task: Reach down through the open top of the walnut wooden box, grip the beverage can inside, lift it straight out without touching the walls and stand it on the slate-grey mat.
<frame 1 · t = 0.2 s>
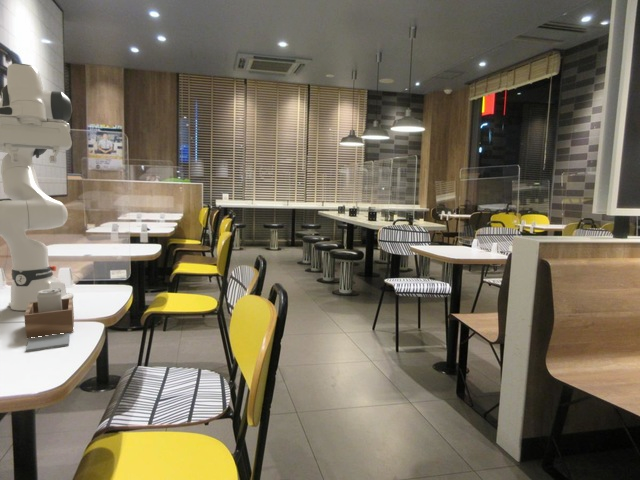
hand: (34, 161, 127), 51 cm above the table, tool tilted 20°, fingers open, 8 cm apart
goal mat: (48, 342, 125), on the table
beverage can: (51, 328, 138), resting in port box
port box: (51, 327, 138), on the table
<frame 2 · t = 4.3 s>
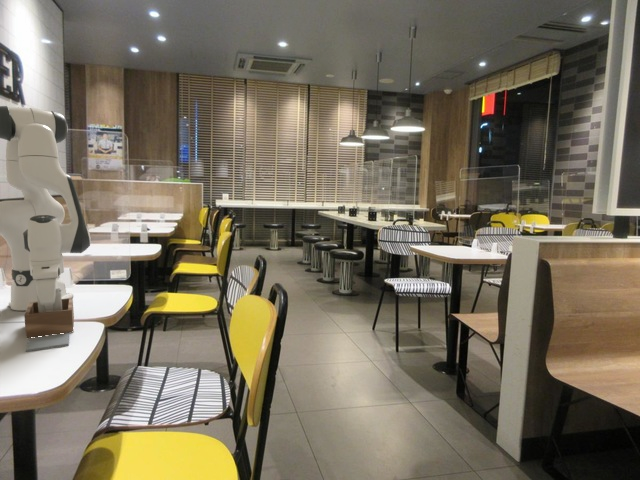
hand: (50, 311, 137), 5 cm above the table, tool pointing down, fingers closed on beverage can, 6 cm apart
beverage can: (51, 328, 138), resting in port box, touching gripper
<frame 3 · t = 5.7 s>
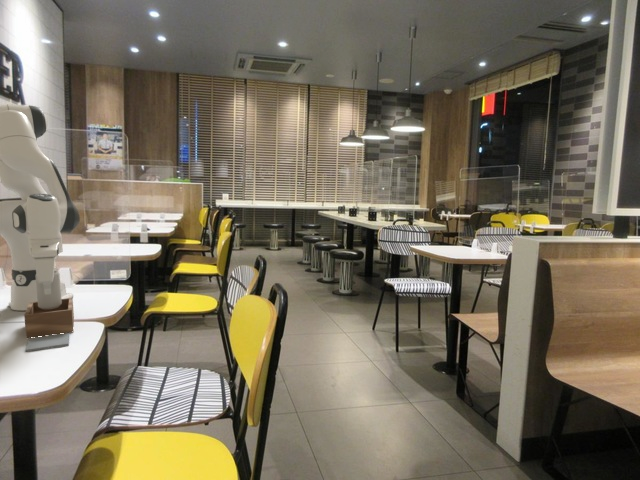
hand: (48, 290, 137), 12 cm above the table, tool pointing down, fingers closed on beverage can, 6 cm apart
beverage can: (50, 307, 138), point 6 cm above the table, touching gripper
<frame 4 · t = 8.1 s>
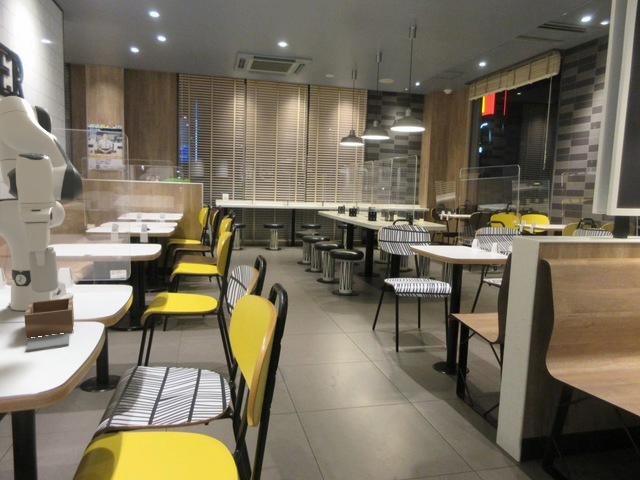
hand: (42, 263, 122), 23 cm above the table, tool pointing down, fingers closed on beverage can, 6 cm apart
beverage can: (45, 291, 123), point 15 cm above the table, touching gripper
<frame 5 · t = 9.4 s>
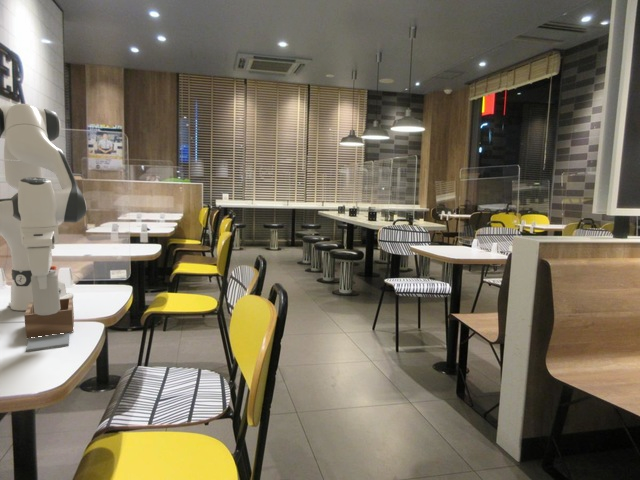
hand: (44, 286, 123), 17 cm above the table, tool pointing down, fingers closed on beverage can, 6 cm apart
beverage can: (47, 313, 124), point 9 cm above the table, touching gripper
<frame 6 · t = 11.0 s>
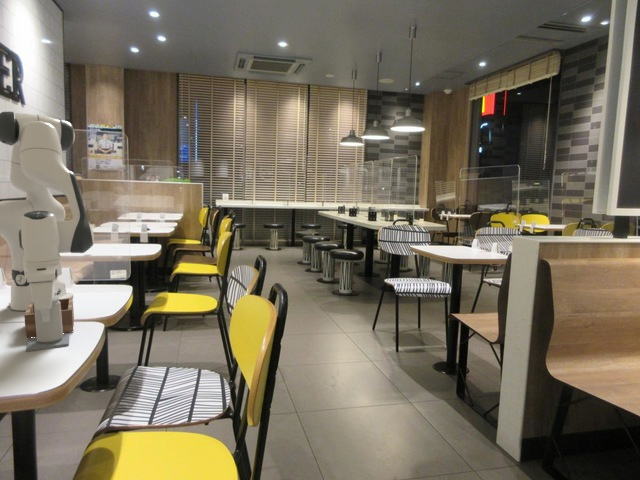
hand: (47, 317, 124), 7 cm above the table, tool pointing down, fingers closed on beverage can, 6 cm apart
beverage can: (50, 341, 125), resting on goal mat, touching gripper
when the fingers open (7 cm above the table, at t = 11.9 s): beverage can stays where it is, resting on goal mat.
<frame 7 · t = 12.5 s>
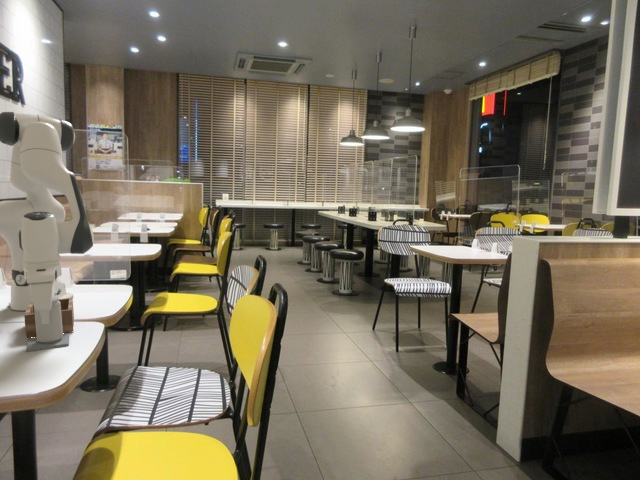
hand: (46, 318, 124), 7 cm above the table, tool pointing down, fingers open, 8 cm apart
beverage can: (50, 341, 125), resting on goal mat
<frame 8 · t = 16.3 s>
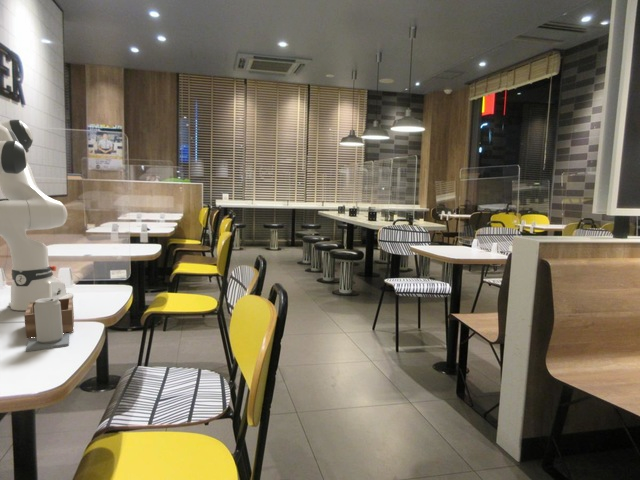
nothing on the table moved.
at the end: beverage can inside the target area on the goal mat (0.4 cm from its centre), point 0.4 cm above the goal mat's base; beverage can tilted 0°; the gripper is holding nothing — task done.
